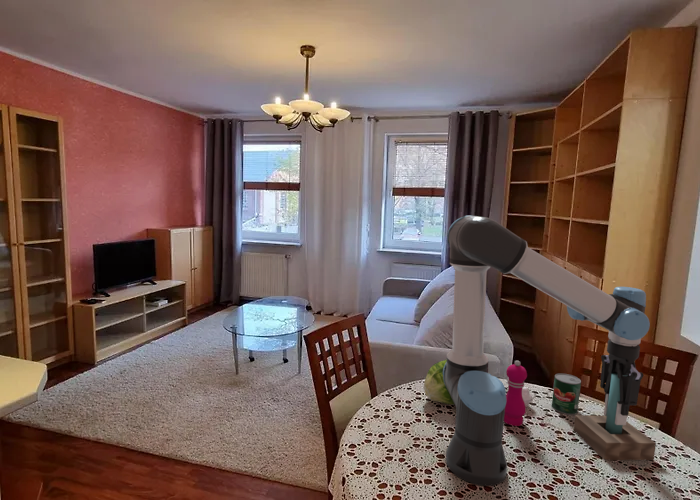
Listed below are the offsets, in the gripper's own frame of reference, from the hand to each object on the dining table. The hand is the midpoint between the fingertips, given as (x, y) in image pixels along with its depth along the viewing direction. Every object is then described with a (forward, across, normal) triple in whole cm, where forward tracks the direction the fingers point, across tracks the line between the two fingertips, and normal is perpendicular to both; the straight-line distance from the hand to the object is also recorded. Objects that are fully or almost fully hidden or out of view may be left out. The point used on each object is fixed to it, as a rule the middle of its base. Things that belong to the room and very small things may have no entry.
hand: (614, 419), depth 113 cm
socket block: (+8, 0, 0) cm, 8 cm away
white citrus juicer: (+8, +22, +16) cm, 28 cm away
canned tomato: (+8, +20, +2) cm, 22 cm away
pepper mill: (+8, +12, +24) cm, 28 cm away
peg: (+5, 0, 0) cm, 5 cm away
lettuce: (+8, +24, +40) cm, 47 cm away
